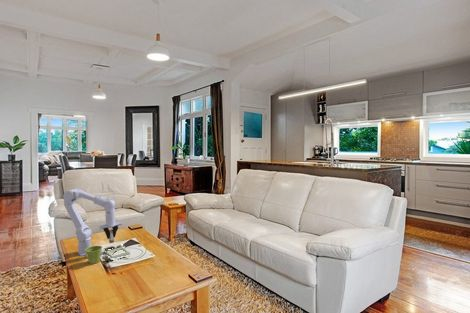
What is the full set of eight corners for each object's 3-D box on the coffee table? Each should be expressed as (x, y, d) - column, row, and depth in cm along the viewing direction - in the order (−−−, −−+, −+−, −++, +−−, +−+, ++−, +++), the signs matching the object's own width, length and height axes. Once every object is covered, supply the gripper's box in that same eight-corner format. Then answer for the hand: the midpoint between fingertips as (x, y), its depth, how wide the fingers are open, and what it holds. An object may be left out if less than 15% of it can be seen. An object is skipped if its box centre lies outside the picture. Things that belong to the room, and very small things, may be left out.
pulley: (115, 248, 196) (114, 244, 196) (123, 246, 200) (123, 242, 200) (118, 251, 192) (118, 247, 192) (127, 249, 196) (126, 245, 196)
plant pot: (96, 266, 170) (95, 252, 169) (82, 264, 172) (81, 250, 171) (106, 259, 179) (105, 246, 179) (93, 258, 181) (92, 245, 180)
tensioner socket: (104, 251, 191) (104, 248, 191) (113, 249, 195) (113, 245, 195) (107, 254, 187) (107, 250, 187) (116, 251, 191) (116, 248, 191)
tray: (106, 255, 184) (106, 251, 184) (123, 251, 192) (123, 246, 192) (112, 261, 176) (112, 256, 176) (129, 256, 184) (129, 251, 184)
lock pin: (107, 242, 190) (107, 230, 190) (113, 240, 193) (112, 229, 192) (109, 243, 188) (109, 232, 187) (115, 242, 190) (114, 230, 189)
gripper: (100, 221, 181) (101, 242, 182) (123, 217, 191) (124, 236, 192) (97, 219, 186) (98, 239, 187) (119, 215, 196) (120, 234, 197)
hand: (111, 237), depth 190 cm, fingers closed on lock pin, 3 cm apart
